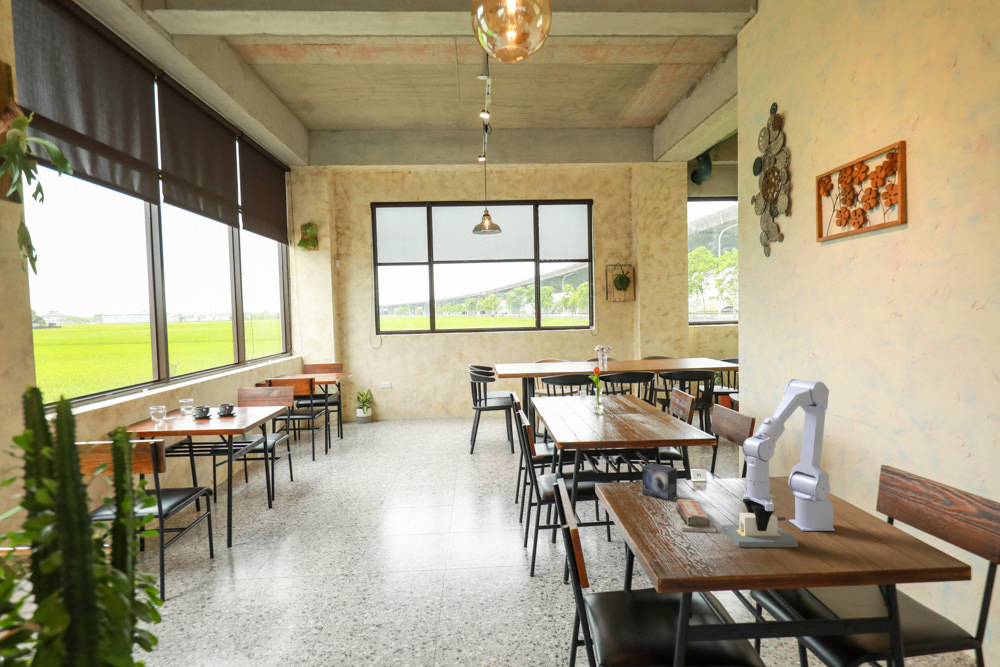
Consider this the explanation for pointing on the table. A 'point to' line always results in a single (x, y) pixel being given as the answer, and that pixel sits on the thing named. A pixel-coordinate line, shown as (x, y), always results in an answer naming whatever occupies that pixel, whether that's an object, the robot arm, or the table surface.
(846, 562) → the table surface
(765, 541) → the board
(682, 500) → the packaged product
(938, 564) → the table surface
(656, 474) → the small box
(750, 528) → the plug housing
